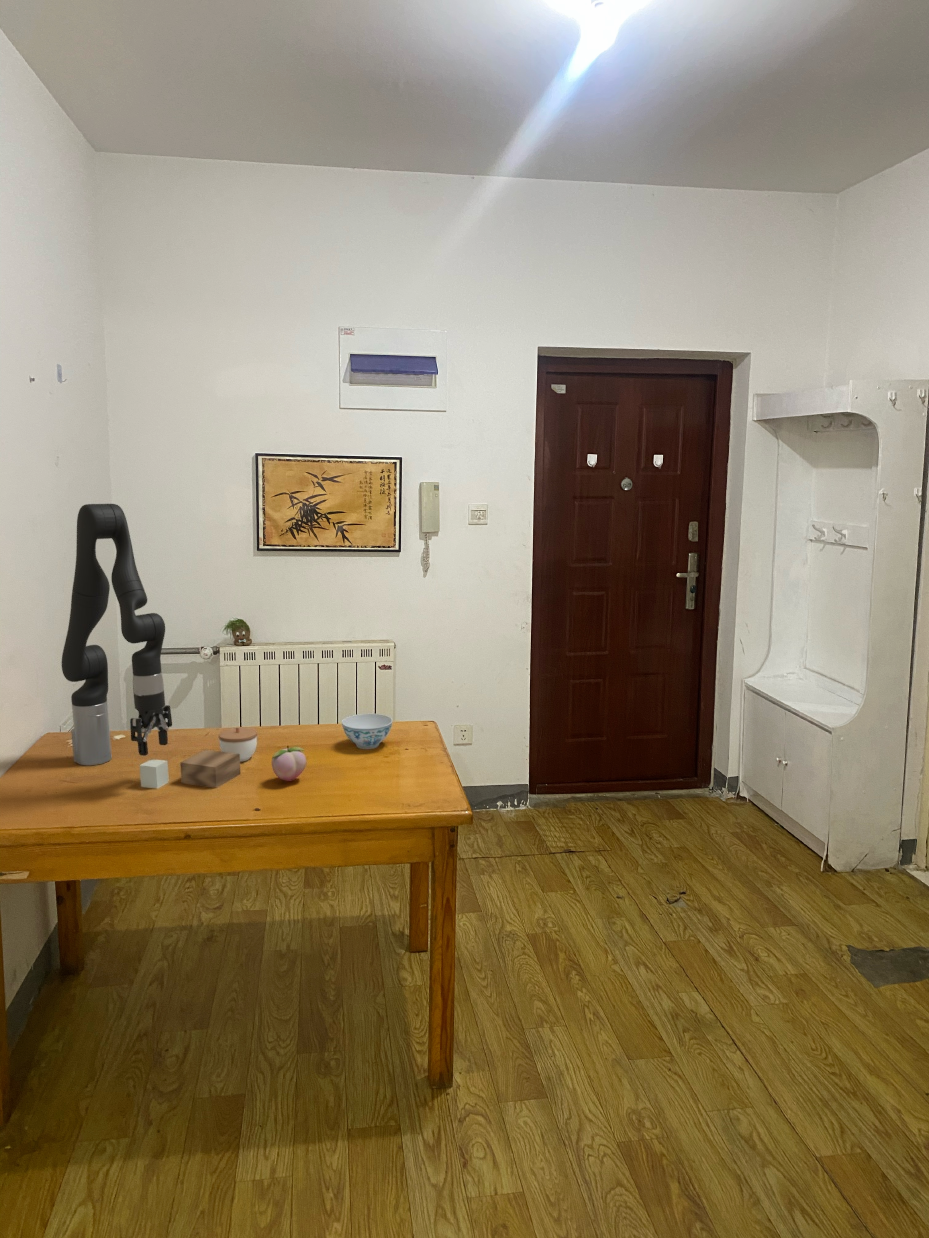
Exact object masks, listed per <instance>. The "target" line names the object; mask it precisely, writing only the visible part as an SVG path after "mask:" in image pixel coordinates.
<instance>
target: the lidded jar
mask: <svg viewBox="0 0 929 1238" xmlns="http://www.w3.org/2000/svg"><path fill="white" fill-rule="evenodd" d="M218 741H219V748H220V751H221V752H228V753H236V754H240V763H242V762H246V761H249V760H250V759H251V757H252V756H253V755H254V753H255V751H256V750H257V744H258V731H257V730H256V729H254V728H253V727H252V728H251V727H247V726H245V727H244V726H243V727H242V726H236V727H232V728H231V727H230V728H227V729H224V730H221V731H220V732H219V733H218Z"/></svg>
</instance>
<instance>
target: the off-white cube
mask: <svg viewBox="0 0 929 1238" xmlns="http://www.w3.org/2000/svg"><path fill="white" fill-rule="evenodd" d="M168 764H169V763H168V760H163V759H154V758H151V759H148V760H147V761H145V762H143V763H141V764H140V765H139V775H140V786H141V788H148V789H149V788H150V789H155V790H158V789H159V788H161V787H163V786H165V785H166V784H168V783H169V782H170V779H169V765H168Z"/></svg>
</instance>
